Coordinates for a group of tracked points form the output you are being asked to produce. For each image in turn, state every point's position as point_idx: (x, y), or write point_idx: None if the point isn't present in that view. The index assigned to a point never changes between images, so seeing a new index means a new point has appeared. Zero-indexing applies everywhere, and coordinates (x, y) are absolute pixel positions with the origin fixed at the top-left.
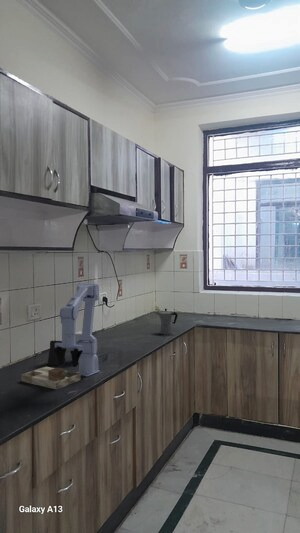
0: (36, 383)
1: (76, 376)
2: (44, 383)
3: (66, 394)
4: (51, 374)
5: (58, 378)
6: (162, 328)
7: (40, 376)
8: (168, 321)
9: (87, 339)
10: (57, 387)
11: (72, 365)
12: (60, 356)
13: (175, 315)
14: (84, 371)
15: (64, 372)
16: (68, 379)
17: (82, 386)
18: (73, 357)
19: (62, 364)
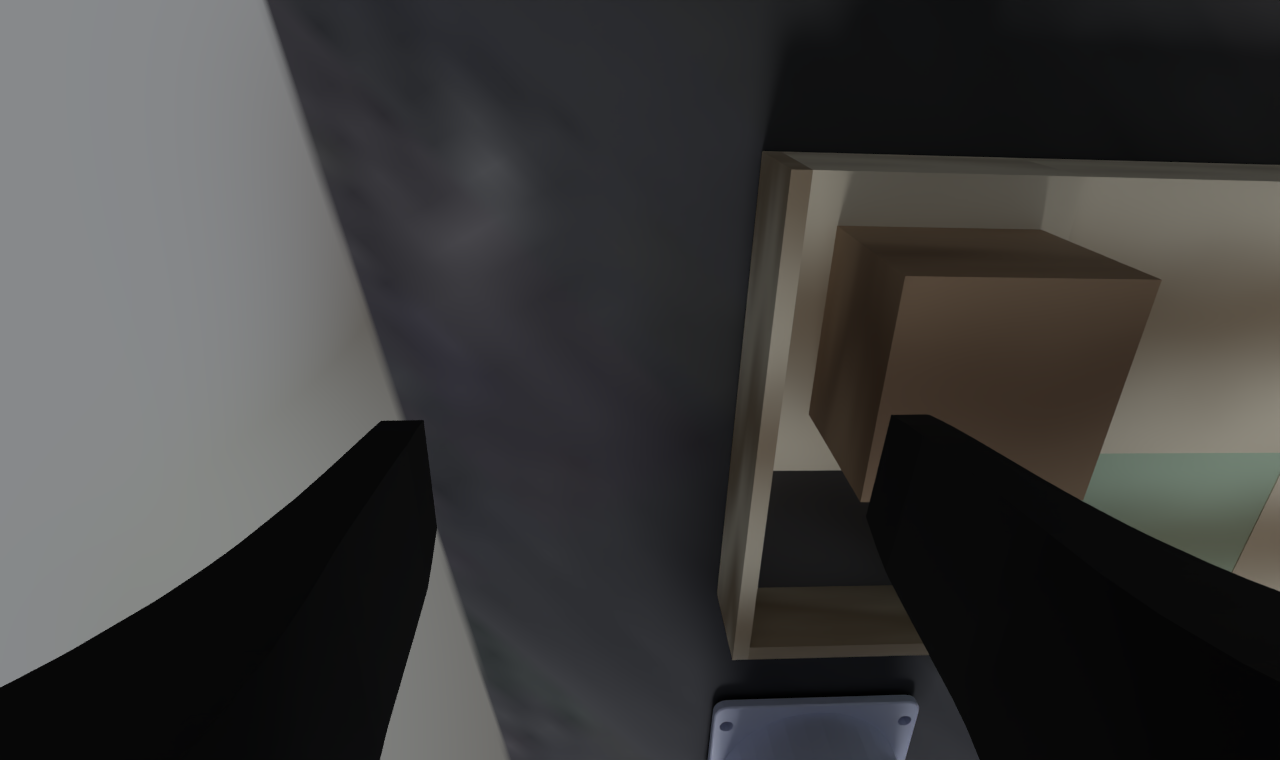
0: (1226, 166)
1: (735, 578)
2: (1065, 167)
3: (462, 50)
4: (1025, 258)
5: (842, 280)
6: None
7: (1270, 286)
8: None
9: None
10: (768, 171)
11: (403, 434)
12: (1041, 597)
13: None
14: (785, 754)
15: (841, 458)
16: (753, 432)
17: (517, 439)
18: (173, 608)
19: (879, 477)
